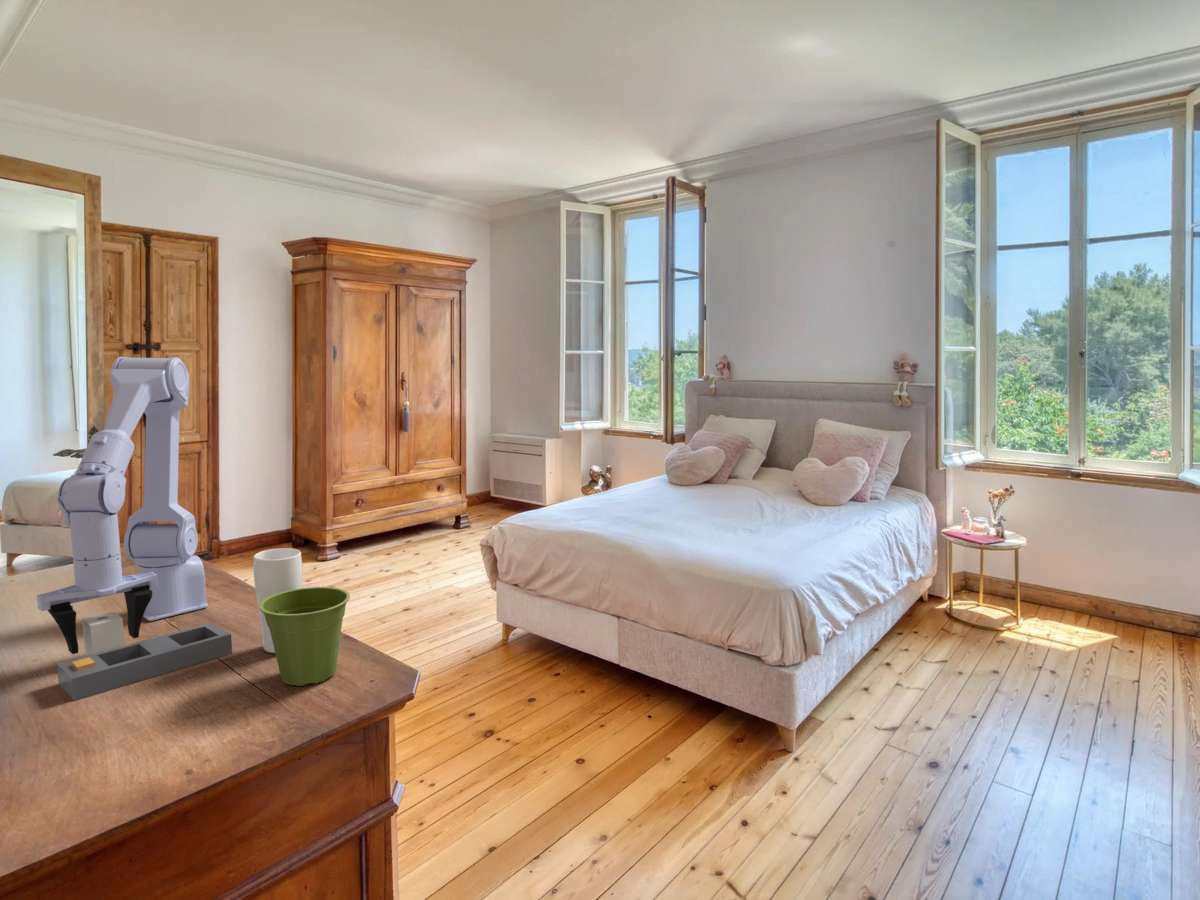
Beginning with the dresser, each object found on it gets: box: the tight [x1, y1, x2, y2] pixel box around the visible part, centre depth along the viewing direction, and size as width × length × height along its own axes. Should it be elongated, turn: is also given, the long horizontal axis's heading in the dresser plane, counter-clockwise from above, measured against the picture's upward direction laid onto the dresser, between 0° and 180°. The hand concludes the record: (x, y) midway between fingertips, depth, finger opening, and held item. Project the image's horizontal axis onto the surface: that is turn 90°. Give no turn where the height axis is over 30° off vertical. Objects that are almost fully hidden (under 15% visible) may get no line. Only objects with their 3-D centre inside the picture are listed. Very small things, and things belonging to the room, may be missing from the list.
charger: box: [81, 611, 126, 656], centre depth 106 cm, size 4×4×6 cm
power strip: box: [56, 622, 233, 701], centre depth 103 cm, size 20×7×4 cm, turn 140°
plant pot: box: [259, 586, 351, 687], centre depth 101 cm, size 12×12×11 cm
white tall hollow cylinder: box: [253, 547, 304, 654], centre depth 110 cm, size 7×7×15 cm
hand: (104, 643), depth 106 cm, fingers open, 7 cm apart
